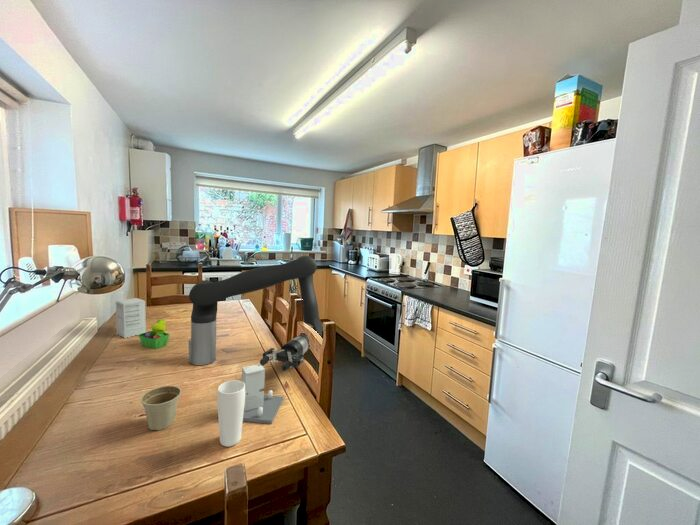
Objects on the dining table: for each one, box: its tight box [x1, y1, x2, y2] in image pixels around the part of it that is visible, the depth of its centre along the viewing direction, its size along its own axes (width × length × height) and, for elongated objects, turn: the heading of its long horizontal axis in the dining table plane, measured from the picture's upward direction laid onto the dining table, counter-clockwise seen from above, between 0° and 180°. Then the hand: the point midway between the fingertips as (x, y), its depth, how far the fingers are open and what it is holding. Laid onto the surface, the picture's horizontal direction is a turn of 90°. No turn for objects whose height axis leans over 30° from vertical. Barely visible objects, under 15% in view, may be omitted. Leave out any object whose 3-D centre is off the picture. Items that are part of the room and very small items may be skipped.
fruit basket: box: [137, 318, 171, 350], centre depth 130 cm, size 11×9×11 cm
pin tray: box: [243, 389, 284, 425], centre depth 89 cm, size 16×12×4 cm
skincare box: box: [241, 363, 266, 411], centre depth 88 cm, size 6×4×12 cm
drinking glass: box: [216, 379, 245, 448], centre depth 74 cm, size 7×7×15 cm
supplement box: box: [115, 297, 147, 339], centre depth 140 cm, size 10×9×17 cm
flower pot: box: [140, 385, 182, 431], centre depth 79 cm, size 9×9×9 cm
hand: (271, 366), depth 97 cm, fingers open, 8 cm apart
